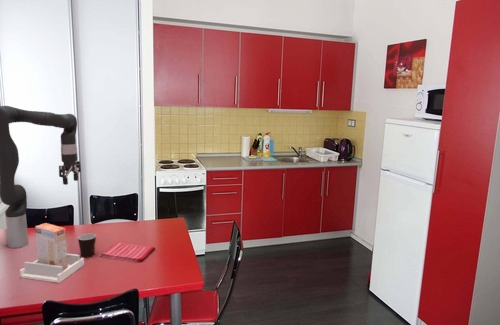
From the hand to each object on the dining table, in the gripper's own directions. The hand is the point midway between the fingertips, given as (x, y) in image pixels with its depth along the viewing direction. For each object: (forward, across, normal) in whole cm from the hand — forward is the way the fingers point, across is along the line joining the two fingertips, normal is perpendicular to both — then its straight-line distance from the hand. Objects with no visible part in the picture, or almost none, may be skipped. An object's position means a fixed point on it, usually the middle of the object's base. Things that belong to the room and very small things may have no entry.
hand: (70, 182), depth 196 cm
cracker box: (+35, +27, +8) cm, 45 cm away
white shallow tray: (+36, +27, +8) cm, 46 cm away
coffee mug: (+36, +6, +13) cm, 39 cm away
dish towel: (+37, 0, +32) cm, 49 cm away
